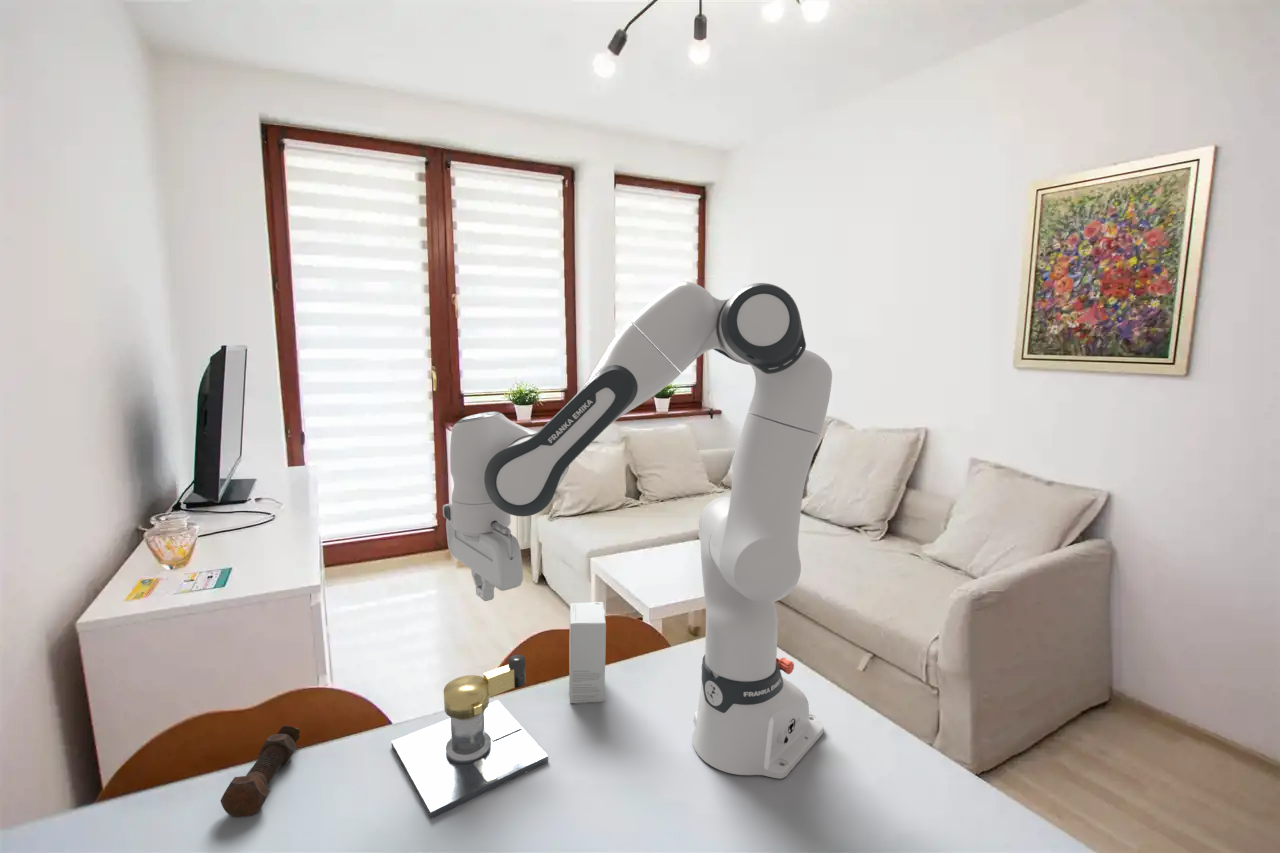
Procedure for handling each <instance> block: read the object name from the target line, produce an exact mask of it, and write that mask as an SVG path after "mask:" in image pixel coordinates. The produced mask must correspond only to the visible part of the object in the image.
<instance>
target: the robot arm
mask: <svg viewBox="0 0 1280 853" xmlns="http://www.w3.org/2000/svg"><path fill="white" fill-rule="evenodd" d="M630 320H631V321H630ZM630 320H628V322H627V323H626V324H625V325H624V326H623V327H621V329H620V330H619V332H617V333H616V335H615V336H614V338H613V339H612V340H611V341H610V343H609V344H608V346H607V347H606V349H605V350H604V351H603V353H602V354H601V356H600V357H599V358H598V361H597V362H596V364H595V366H594V367H593V369H592V371H591V372H590V374H589V376H588V377H587V379H586V380H585V382H583V385H582V386H581V388H580V389H579V390H578V391H577V393H576V394H575V395H574V396H573V397H572V398H571V399H570V400H569V401H568V402H567V403H565V405H564V406H563V407H562V408H561V409H560V410H559V411H558V412H557V413H556V414H555V415H554V416H553V417H552V418H551V419H550V420H549V421H548V422H547V423H545V424H544V425H543V426H542V428H540V430H538V431H537V430H534V429H531V428H527V427H525V426H522V425H521V424H519V423H518V424H517V423H516V422H514V421H513V420H510V419H509V418H508V417H506V415H505V414H503V413H501V412H499V411H485V412H484V411H483V412H479V413H476V414H471V415H466V416H464V417H463V418H461V419H459V420H458V421H456V422H455V423H454V425H453V427H452V428H451V429H452V430H451V435H450V443H449V444H450V448H449V450H450V451H449V455H450V456H449V458H450V459H449V461H450V462H449V463H450V464H449V465H450V466H449V467H450V475H451V477H452V479H453V489H452V494H451V502H449V503H446V504H443V505H442V516H443V518H445V520H446V521H445V529H446V531H445V532H446V539H447V547H448V550H449V553H450V555H451V556H452V557H453V558H454V559H455V560H457V561H459V562H460V563H462V565H464V566H466V567H467V568H468V569H469V570H471V576H472V580H473V583H474V585H475V595H476V596H478V597H479V598H480V599H481V600H482V601H483V602H489V601H492V600H493V599H494V598H495V588H497V589H498V590H499V591H500V592H504V591H508V590H512V589H515V588H518V587H520V586H521V585H522V583H523V581H524V571H523V569H524V568H523V559H522V550H521V546H520V543H519V540H518V539H517V537H515V536H514V535H513V534H512V531H511V529H510V528H509V526H510V525H511V522H512V521H511V520H512V519H511V516H515V517H530V516H533V515H536V514H538V513H540V512H541V511H543V510H544V509H545V508H547V507H548V506H549V504H550V503H551V501H552V500H553V498H554V496H555V494H556V491H557V489H558V488H559V487H560V485H561V483H562V482H563V481H564V478H566V476H567V474H568V471H569V467H570V465H571V464H572V463H573V462H574V461H575V460H576V459H577V458H578V457H579V455H581V454H582V452H584V451H585V450H586V448H588V447H589V446H590V445H591V443H593V442H594V441H595V440H596V439H597V438H598V436H600V435H601V433H602V432H604V431H605V430H606V429H607V428H608V427H610V425H611V424H613V423H614V422H616V421H617V420H619V418H621V417H623V416H624V415H625V414H627V413H630V411H632V410H634V409H635V408H637V407H639V406H641V405H642V404H643V403H645V402H647V401H648V400H650V399H651V398H653V397H654V396H656V395H657V394H658V393H660V392H661V391H663V389H665V388H666V387H667V386H669V385H670V384H671V383H673V381H675V380H676V379H677V378H678V377H679V376H680V375H681V373H683V372H684V371H686V369H687V368H688V367H689V366H691V364H692V363H693V362H694V361H696V359H698V358H699V357H701V356H702V355H703V354H704V353H706V352H708V351H711V350H714V351H715V352H717V353H720V354H721V355H723V356H724V357H727V358H728V359H730V360H731V361H734V362H735V363H739V364H742V365H749V366H751V369H752V370H753V372H754V377H755V385H754V392H753V396H752V398H751V402H750V404H749V407H748V410H747V414H746V417H745V419H744V423H743V426H742V430H741V431H740V432H741V433H740V435H739V439H738V441H737V445H736V448H735V451H734V455H733V457H732V462H731V467H732V480H731V490H730V495H728V496H727V495H725V496H724V495H723V496H719V497H717V498H715V499H713V500H710V501H709V502H708V503H707V504H706V505H705V506H704V508H703V510H702V511H701V514H700V516H699V520H698V528H699V529H698V530H699V539H700V555H701V556H700V559H701V572H702V584H703V585H702V586H703V596H704V603H705V604H704V605H705V645H704V647H705V648H704V649H705V650H704V653H705V654H704V655H703V657H702V662H701V685H700V692H699V699H698V707H697V709H696V710H695V711H694V717H693V719H694V724H695V726H694V727H695V728H694V731H693V734H692V744H693V745H692V746H693V748H694V750H695V752H696V754H697V755H698V756H699V757H700V758H701V759H702V760H703V761H704V762H705V763H706V764H708V766H709V765H710V766H711V767H713V768H715V769H716V770H719V771H722V772H724V773H727V774H732V775H737V776H765V777H769V778H773V779H784V778H786V777H787V776H788V775H789V773H791V771H792V770H793V769H794V768H795V766H796V765H798V763H799V762H800V761H801V760H802V759H803V757H804V756H805V755H806V754H807V753H808V751H810V749H811V748H812V747H813V746H814V745H815V743H816V742H817V741H818V740H819V739H820V737H821V736H822V735H823V734H824V726H823V724H822V722H821V721H820V719H819V718H818V717H817V716H816V715H815V714H814V713H812V712H811V711H810V706H809V701H808V698H807V696H806V695H805V693H804V692H803V691H802V690H801V689H800V688H799V687H798V686H796V685H795V684H794V683H792V682H791V681H790V680H788V679H786V678H785V677H784V676H782V672H781V671H783V672H784V673H786V674H787V675H790V674H792V673H793V671H794V669H795V663H794V662H793V661H792V660H789V659H787V658H786V657H781V658H778V657H777V652H778V651H777V650H778V647H777V646H778V630H779V629H778V628H779V618H778V617H779V616H778V612H777V609H776V604H775V602H778V601H780V600H782V599H784V598H785V597H787V596H788V595H789V594H790V593H791V592H792V591H793V590H794V589H795V588H796V586H797V585H798V583H799V579H800V577H801V570H802V563H801V559H800V558H801V557H800V553H799V534H800V522H801V512H802V504H803V495H804V491H805V490H804V489H805V484H806V480H807V477H808V473H809V471H810V467H811V464H812V461H813V458H814V456H815V455H814V454H815V452H816V449H817V445H818V442H819V439H820V436H821V434H822V430H823V426H824V423H825V419H826V416H827V412H828V407H829V402H830V397H831V391H832V390H831V389H832V384H833V383H832V382H833V371H832V369H831V367H830V364H829V363H828V362H827V360H825V359H824V358H823V357H821V356H820V355H818V354H817V353H815V352H813V351H810V350H807V349H806V347H807V343H806V338H805V333H804V329H803V325H802V319H801V315H800V311H799V308H798V306H797V303H796V301H795V300H794V298H793V297H792V296H791V295H790V294H789V293H788V292H787V291H786V290H785V289H783V287H780V286H777V285H775V284H771V283H767V282H766V283H765V282H757V283H752V284H747V285H745V286H744V287H741V288H740V289H738V290H736V292H734V293H733V294H732V296H731V297H729V298H728V299H727V298H726V299H719V298H717V297H714V296H713V295H712V294H711V293H710V292H709V291H708V290H707V289H706V288H704V287H703V286H701V285H699V284H697V283H694V282H691V281H680V282H677V283H675V284H673V285H672V286H670V287H669V288H667V289H666V290H664V291H663V292H662V293H660V294H659V295H657V296H656V297H655V298H654V299H652V300H651V301H650V302H648V303H647V304H646V305H645V306H644V307H642V309H641V310H639V311H638V312H637V313H636V314H635V315H634V316H633V317H631V319H630Z"/></svg>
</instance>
